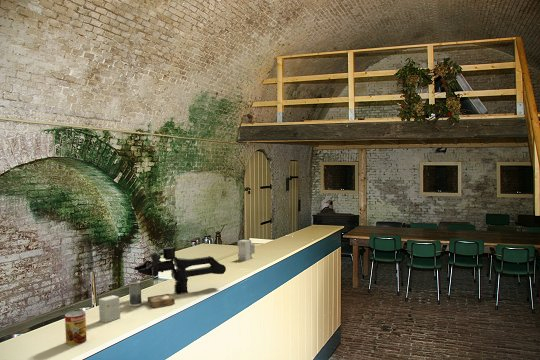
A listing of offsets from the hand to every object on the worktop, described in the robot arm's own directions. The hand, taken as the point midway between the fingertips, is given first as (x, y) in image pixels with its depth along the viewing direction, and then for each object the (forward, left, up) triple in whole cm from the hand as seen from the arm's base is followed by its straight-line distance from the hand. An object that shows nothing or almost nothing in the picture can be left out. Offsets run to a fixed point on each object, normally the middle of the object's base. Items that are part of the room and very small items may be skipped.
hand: (136, 270), depth 246 cm
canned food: (+36, +50, -17) cm, 64 cm away
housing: (+3, +9, -17) cm, 19 cm away
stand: (-9, +15, -17) cm, 24 cm away
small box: (+19, +27, -17) cm, 37 cm away
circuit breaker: (-101, -69, -17) cm, 124 cm away
